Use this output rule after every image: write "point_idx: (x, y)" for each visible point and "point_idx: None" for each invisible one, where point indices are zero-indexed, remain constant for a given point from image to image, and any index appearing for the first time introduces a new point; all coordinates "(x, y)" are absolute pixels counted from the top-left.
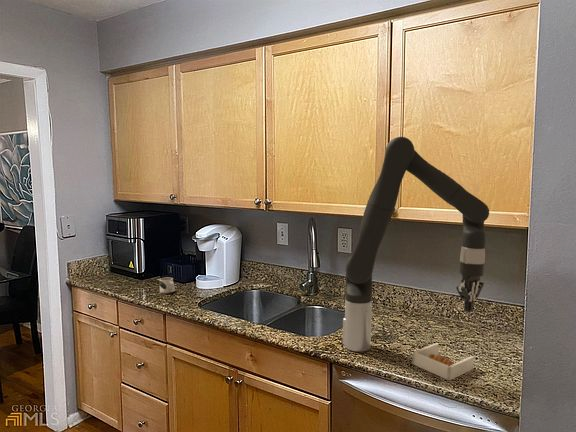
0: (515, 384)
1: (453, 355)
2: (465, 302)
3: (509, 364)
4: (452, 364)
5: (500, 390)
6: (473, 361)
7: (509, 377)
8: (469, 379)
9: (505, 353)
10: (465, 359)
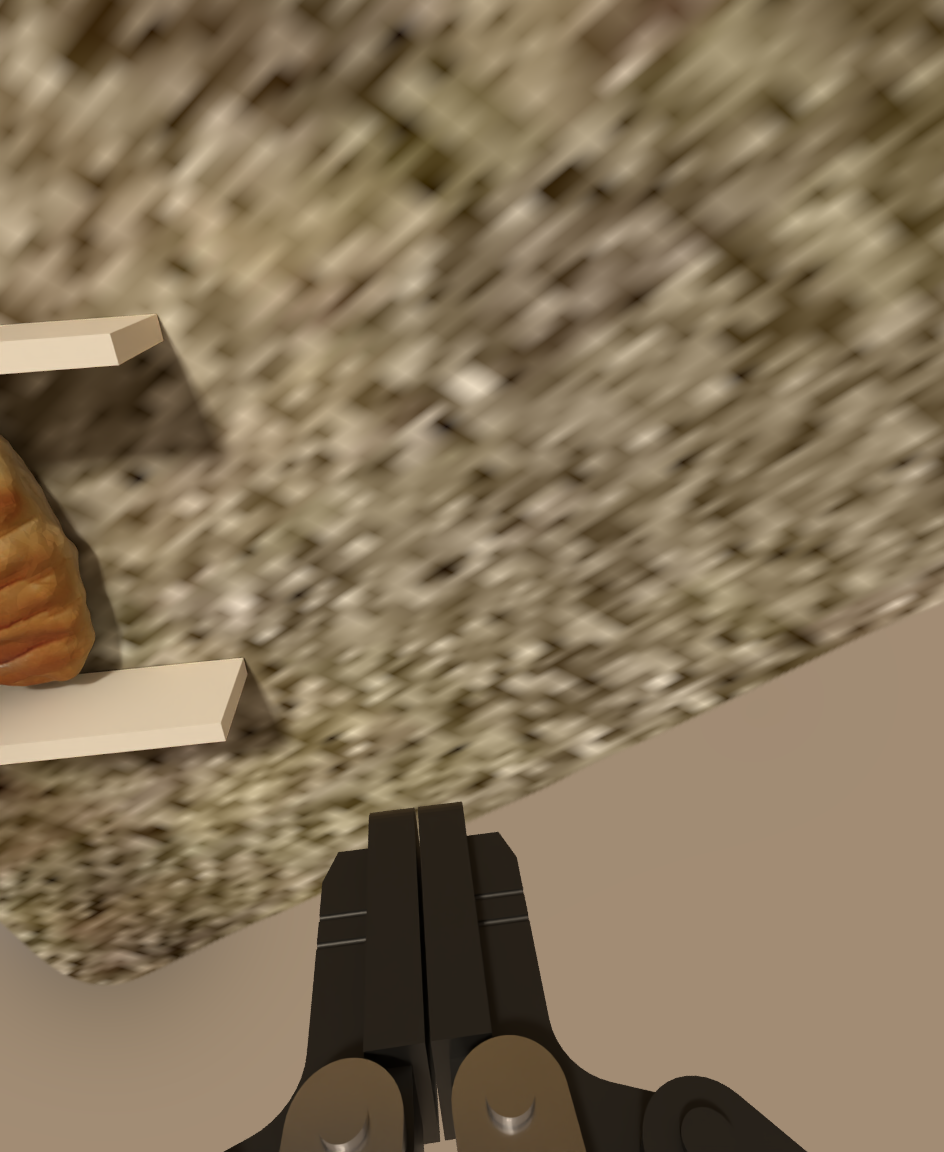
0: None
1: (304, 432)
2: (311, 1042)
3: (559, 739)
4: (11, 666)
5: (172, 894)
6: (234, 712)
7: None
8: None
9: (730, 625)
10: (109, 741)
